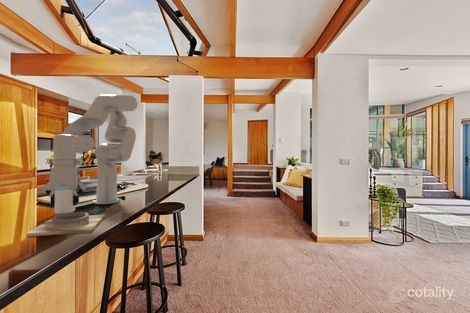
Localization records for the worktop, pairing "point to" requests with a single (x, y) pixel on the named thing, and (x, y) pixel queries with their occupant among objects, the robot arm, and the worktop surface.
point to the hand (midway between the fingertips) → (65, 204)
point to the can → (64, 200)
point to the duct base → (68, 224)
